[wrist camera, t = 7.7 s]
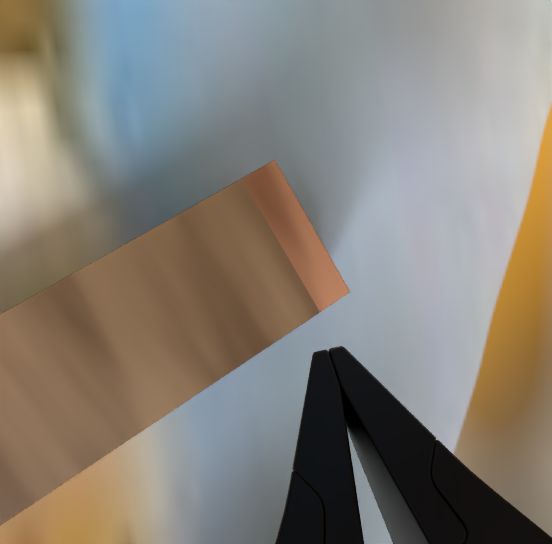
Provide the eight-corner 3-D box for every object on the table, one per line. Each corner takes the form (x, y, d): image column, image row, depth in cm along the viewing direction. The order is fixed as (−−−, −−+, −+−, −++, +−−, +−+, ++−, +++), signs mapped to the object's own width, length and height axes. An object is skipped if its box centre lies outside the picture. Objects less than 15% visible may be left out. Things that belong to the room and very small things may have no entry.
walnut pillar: (317, 285, 18) (21, 479, 16) (257, 183, 17) (-66, 367, 15) (350, 291, 14) (-39, 551, 12) (274, 159, 14) (-161, 405, 11)
